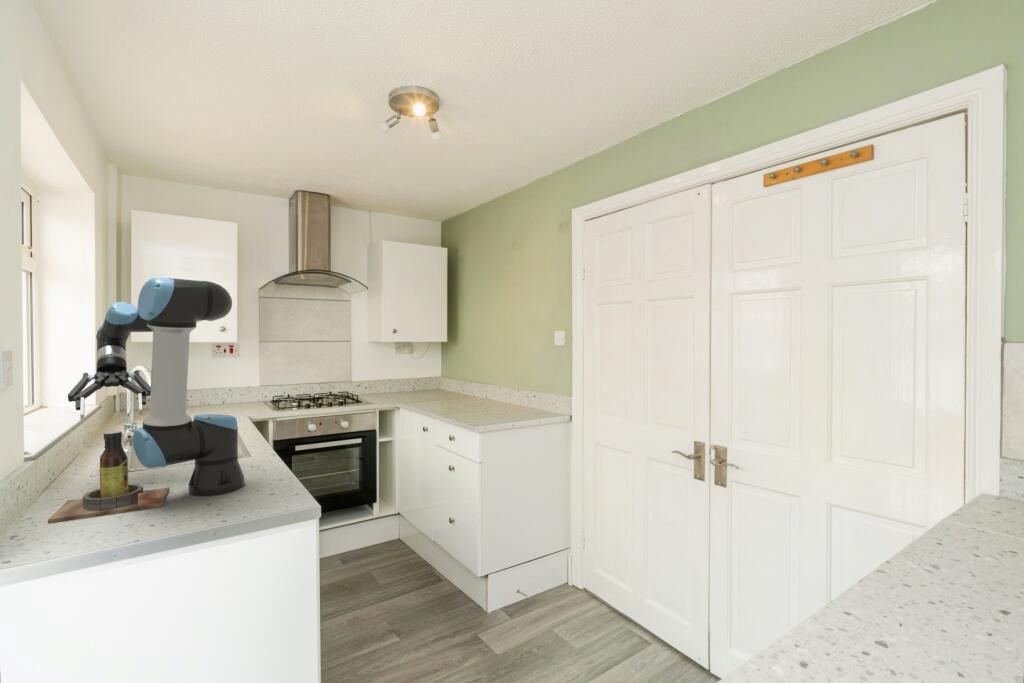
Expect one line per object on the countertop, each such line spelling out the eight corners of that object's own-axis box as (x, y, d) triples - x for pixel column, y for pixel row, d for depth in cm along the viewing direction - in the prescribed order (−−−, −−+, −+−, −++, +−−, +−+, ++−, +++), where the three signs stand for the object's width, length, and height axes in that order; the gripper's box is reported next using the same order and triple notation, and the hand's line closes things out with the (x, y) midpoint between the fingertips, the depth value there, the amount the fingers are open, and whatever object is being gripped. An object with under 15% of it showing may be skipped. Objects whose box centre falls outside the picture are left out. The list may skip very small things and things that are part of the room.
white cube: (101, 472, 171) (101, 452, 171) (121, 467, 178) (121, 448, 178) (117, 474, 169) (116, 453, 169) (136, 468, 176) (136, 449, 176)
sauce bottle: (130, 501, 139) (129, 432, 139) (102, 507, 135) (100, 435, 134) (126, 496, 144) (125, 429, 143) (98, 501, 139) (97, 432, 139)
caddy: (169, 490, 152) (169, 477, 152) (161, 507, 138) (161, 492, 138) (67, 503, 140) (67, 490, 140) (48, 523, 126) (47, 507, 126)
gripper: (158, 368, 168) (162, 417, 157) (60, 373, 153) (57, 427, 141) (159, 353, 164) (163, 402, 153) (58, 356, 149) (54, 411, 137)
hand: (112, 414), depth 147 cm, fingers open, 13 cm apart
